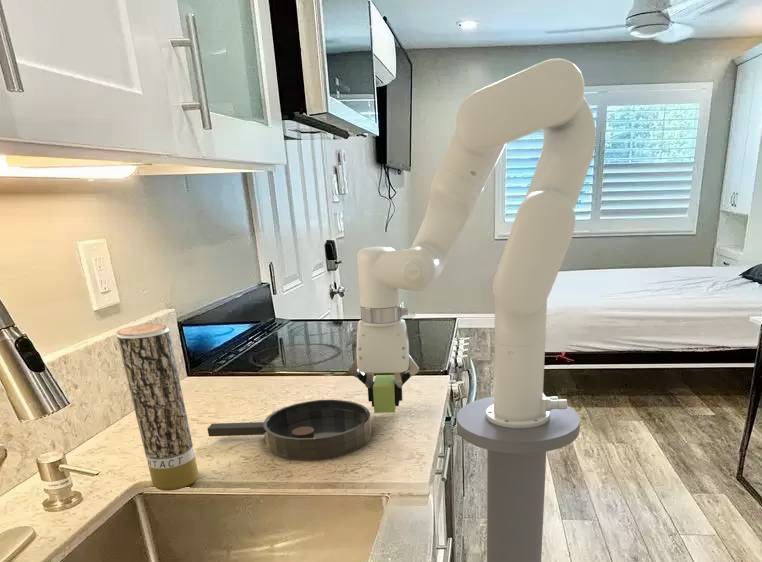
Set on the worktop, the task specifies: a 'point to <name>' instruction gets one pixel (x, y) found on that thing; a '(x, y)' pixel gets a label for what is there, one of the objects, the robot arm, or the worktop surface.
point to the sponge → (384, 394)
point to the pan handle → (236, 429)
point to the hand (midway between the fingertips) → (385, 403)
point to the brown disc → (303, 432)
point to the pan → (318, 429)
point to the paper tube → (158, 405)
